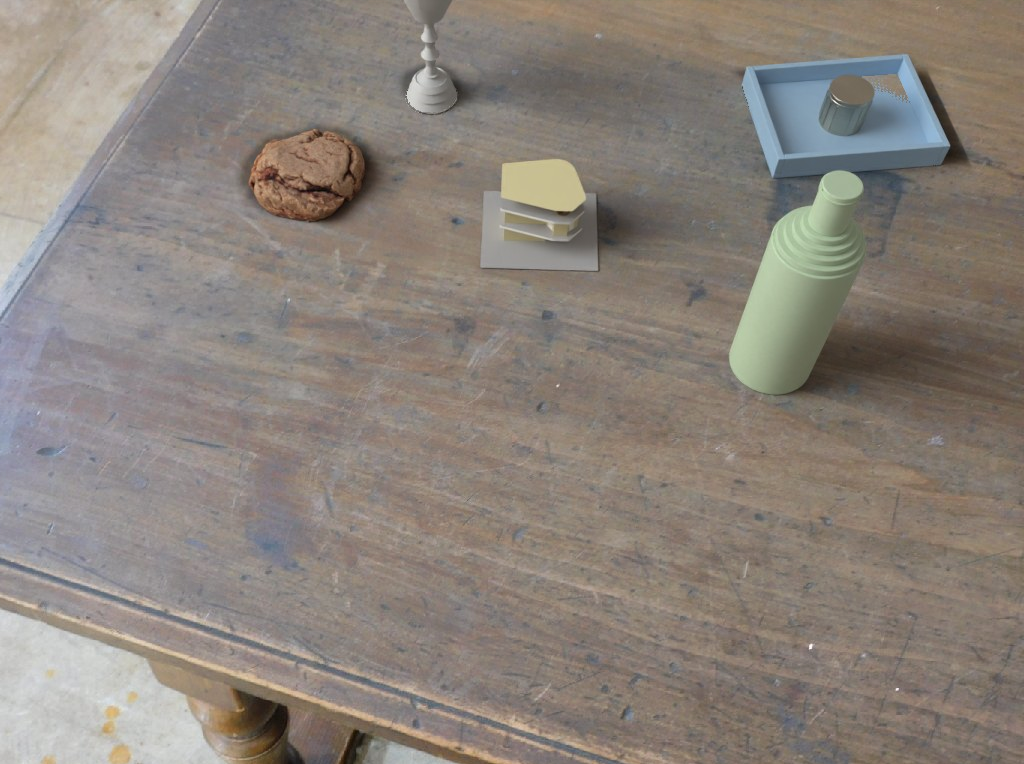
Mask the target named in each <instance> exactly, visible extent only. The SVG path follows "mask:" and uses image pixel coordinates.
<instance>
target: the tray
mask: <svg viewBox="0 0 1024 764" xmlns="http://www.w3.org/2000/svg"><path fill="white" fill-rule="evenodd" d="M888 74H898V77H899V79H900V81H901V83H902V86H903V88H904V90H905V92H906V95H907V97H908V98H907V100H908V101H907V100H905V99H904V98H905V95H904V97H903V99H904V101H903V102H902V95H900V97H901V98H900V97H899V96H898V95H897V97H895V92H893V93H894V94H892V93H891V91H889V92H890V93H891V94H890V93H888V91H886V90H885V91H886V92H885V91H884V90H882V91H883V92H881V87H880V86H878V87H879V88H880V89H877V86H876V85H874V86H875V87H876V88H874V89H875V90H876V91H875V95H874V98H873V102H872V104H871V107H870V109H869V111H868V114H867V116H866V119H865V121H864V124H863V125H862V127H861V129H860V130H859V131H858V132H857V133H855V134H853V135H849V136H838V135H834V134H831V133H829V132H827V131H826V130H824V129H823V128H822V127H821V125H820V123H819V112H820V109H821V107H822V104H823V101H824V98H825V95H826V93H827V90H828V89H829V87H830V84H831V82H832V81H833V79H835V78H837V77H839V76H843V75H855V76H859V77H862V76H873V77H874V76H875V75H888ZM876 77H877V76H876ZM877 78H878V77H877ZM829 79H831V80H829ZM864 79H865V78H864ZM867 79H868V78H867ZM881 79H882V78H881ZM871 80H872V79H871ZM874 80H875V79H874ZM878 81H879V80H878ZM871 83H872V84H873V82H871ZM874 83H875V84H876V82H874ZM878 84H879V85H880V83H878ZM882 85H883V84H882ZM742 86H743V89H742V91H743V90H744V92H743V95H744V94H745V95H744V98H745V97H746V98H745V100H746V99H747V101H746V103H747V102H748V104H747V107H748V106H749V107H748V110H749V113H750V116H751V119H752V122H753V125H754V128H755V130H756V131H755V132H756V134H757V137H758V140H759V142H760V145H761V149H762V151H763V154H764V158H765V161H766V164H767V167H768V170H769V172H770V175H771V178H772V179H783V178H796V177H807V176H820V175H826V174H827V173H830V172H832V171H838V170H841V171H848V172H851V173H859V172H869V171H871V172H872V171H883V170H896V169H909V168H923V167H935V165H936V166H941V165H942V163H943V161H944V160H945V158H946V156H947V154H948V152H949V151H950V148H951V143H950V142H949V140H948V138H947V135H946V133H945V131H944V129H943V127H942V125H941V122H940V120H939V118H938V116H937V113H936V111H935V110H934V107H933V105H932V103H931V100H930V99H929V98H930V97H928V94H927V91H926V90H925V87H924V86H923V84H922V81H921V79H920V77H919V75H918V73H917V70H916V68H915V67H914V65H913V62H912V59H911V58H910V55H909V53H903V54H890V55H889V54H888V55H875V56H864V57H862V56H861V57H853V58H851V57H850V58H849V57H848V58H837V59H825V60H812V61H799V62H798V61H797V62H787V63H785V62H784V63H773V64H760V65H747V66H746V67H745V72H744V75H743V79H742V82H741V87H742ZM872 86H873V85H872ZM874 86H873V87H874ZM886 86H887V85H886ZM882 88H883V89H884V87H882ZM886 89H887V88H886ZM878 90H879V91H878ZM887 90H888V89H887ZM890 90H891V89H890ZM892 96H893V97H892ZM899 98H900V100H899ZM896 99H897V100H896ZM906 101H907V103H906ZM909 101H910V103H909ZM933 165H934V166H933Z"/></svg>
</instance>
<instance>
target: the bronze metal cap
mask: <svg viewBox="0 0 1024 764" xmlns="http://www.w3.org/2000/svg"><path fill="white" fill-rule="evenodd" d="M874 95H875V90H874V87H873V86H872V84H871V83H870V82H869V81H867V80H866V79H864V78H862V77H859V76H855V75H843V76H839V77H837V78H835V79H834V80H833V81H832V82H831V84H830V87H829V89H828V90H827V93H826V95H825V98H824V101H823V104H822V107H821V109H820V112H819V123H820V125H821V127H822V128H823V129H824V130H826V131H827V132H829V133H831V134H834V135H838V136H849V135H853V134H855V133H857V132H858V131H859V130H860V129H861V127H862V125H863V124H864V121H865V119H866V116H867V114H868V111H869V109H870V107H871V104H872V102H873V98H874Z"/></svg>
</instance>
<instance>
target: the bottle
mask: <svg viewBox="0 0 1024 764" xmlns="http://www.w3.org/2000/svg"><path fill="white" fill-rule="evenodd" d="M864 193H865V189H864V182H863V181H862V180H861V178H860V177H859V176H858V175H856V174H855V173H854V172H848V171H841V170H838V171H832V172H830V173H827V174H823V176H822V177H821V179H820V182H819V185H818V190H817V193H816V196H815V198H814V201H813V202H812V205H805V206H801V207H797V208H795V209H792V210H790V211H788V213H786V214H785V215H784V216H782V217H781V218H780V219H779V220H778V221H777V222H776V223H775V225H774V227H773V228H772V231H771V233H770V236H769V238H768V242H767V245H766V248H765V251H764V254H763V256H762V259H761V261H760V264H759V268H758V270H757V272H756V276H755V279H754V281H753V285H752V287H751V289H750V293H749V296H748V298H747V301H746V304H745V307H744V309H743V313H742V316H741V317H740V321H739V324H738V327H737V329H736V332H735V335H734V338H733V341H732V344H731V346H730V350H729V352H728V353H729V354H728V361H729V365H730V368H731V371H732V372H733V374H734V376H735V377H736V379H738V380H739V381H740V382H741V383H742V384H743V385H744V386H745V387H747V388H749V389H751V390H753V391H755V392H758V393H761V394H765V395H773V396H774V395H778V396H780V395H785V394H789V393H792V392H795V391H796V390H799V389H800V388H802V386H803V385H805V383H806V382H807V381H808V379H809V378H810V375H811V373H812V372H813V369H814V367H815V364H816V362H817V361H818V359H819V356H820V354H821V352H822V350H823V347H824V346H825V344H826V341H827V339H828V337H829V335H830V333H831V331H832V329H833V327H834V325H835V323H836V321H837V319H838V317H839V315H840V312H841V310H842V308H843V306H844V304H845V302H846V300H847V297H848V296H849V293H850V291H851V290H852V287H853V285H854V283H855V281H856V279H857V277H858V275H859V272H860V270H861V269H862V267H863V264H864V262H865V261H866V257H867V250H868V248H867V241H866V236H865V233H864V230H863V229H862V228H861V226H860V225H859V224H858V223H857V222H856V220H854V219H853V218H852V217H853V216H854V213H855V211H856V209H857V206H858V204H859V202H860V200H862V198H863V196H864Z"/></svg>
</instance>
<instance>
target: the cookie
mask: <svg viewBox="0 0 1024 764" xmlns="http://www.w3.org/2000/svg"><path fill="white" fill-rule="evenodd" d="M365 162H366V161H365V158H364V157H363V153H362V150H361V149H360V147H359V146H357V145H356V144H355V142H353V141H352V140H351V139H349V138H347V137H345V136H343V135H342V134H340V133H337V132H333V131H328V130H325V131H324V132H322V131H320V130H318V129H317V128H313V129H311V130H307V131H303V132H301V133H300V134H297V135H294V136H290V137H288V138H281V140H279V139H277V138H274V139H272V140H271V141H268V142H267V143H266V144H265V145H264V147H263V149H262V151H261V153H260V154H258V155H257V156H256V158H255V160H254V162H253V166H252V168H251V170H250V171H251V172H250V173H251V174H250V177H249V179H248V186H249V188H250V189H251V190H252V191H253V194H254V196H255V198H256V200H257V202H258V204H259V205H260V206H262V208H263V209H264V210H266V212H268V213H270V214H272V215H274V216H275V217H277V216H280V217H282V218H288V219H291V220H300V221H304V220H305V221H306V222H308V223H309V222H316V221H317V220H321V219H325V218H326V217H330V216H332V215H334V214H335V213H336V211H337V210H338V209H339V208H340V207H341V206H342V205H343V203H344V201H346V200H347V201H349V202H351V201H352V199H353V198H354V197H355V196H356V195H357V194H359V192H360V191H361V189H362V183H363V179H364V178H365V172H366V166H365V165H366V163H365Z"/></svg>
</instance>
